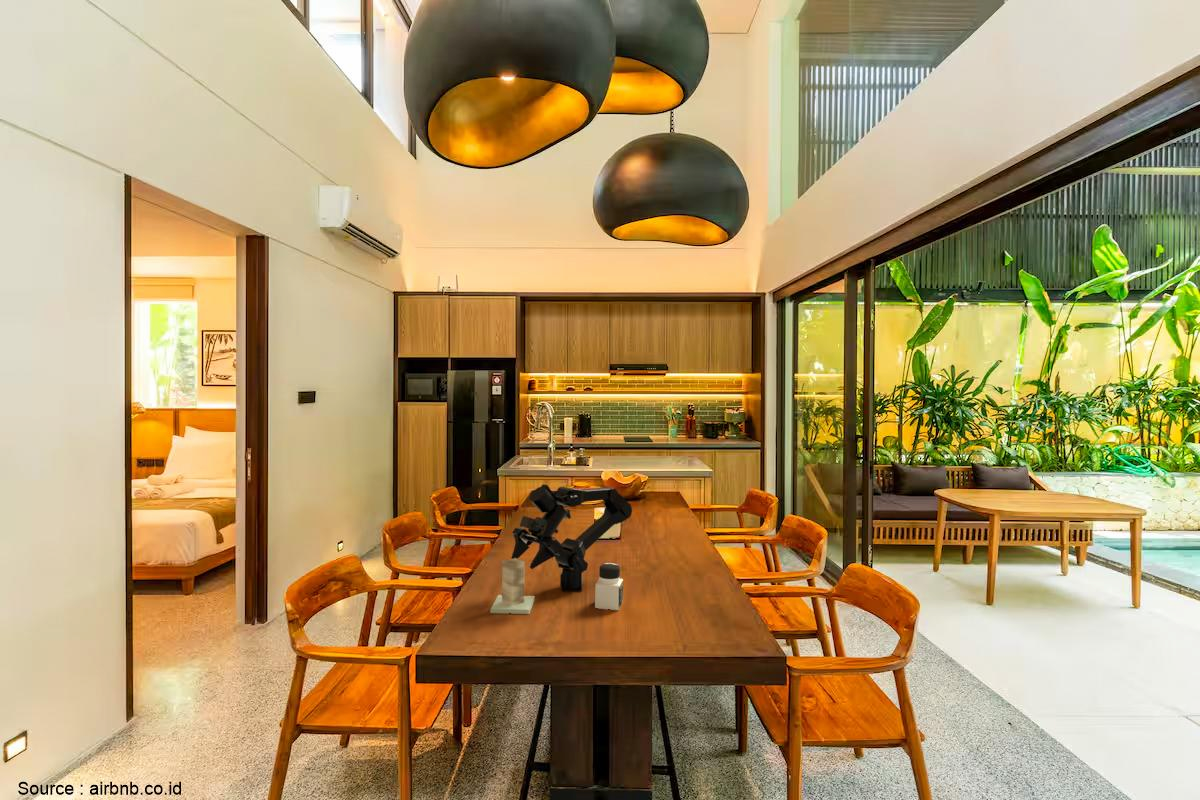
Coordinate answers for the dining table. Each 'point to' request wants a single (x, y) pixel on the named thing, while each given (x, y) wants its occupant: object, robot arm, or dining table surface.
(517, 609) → the board
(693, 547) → the dining table surface
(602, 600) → the medicine bottle
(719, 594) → the dining table surface
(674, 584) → the dining table surface
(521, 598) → the birch block
